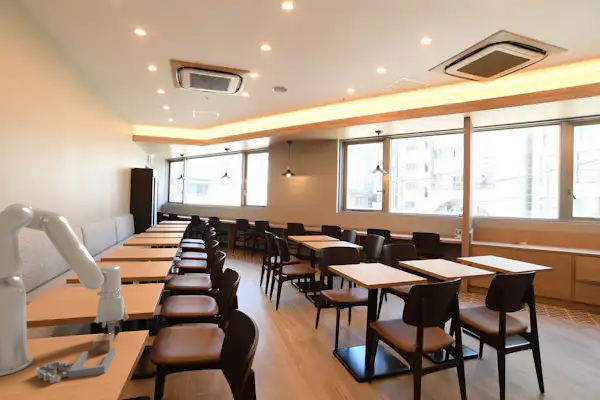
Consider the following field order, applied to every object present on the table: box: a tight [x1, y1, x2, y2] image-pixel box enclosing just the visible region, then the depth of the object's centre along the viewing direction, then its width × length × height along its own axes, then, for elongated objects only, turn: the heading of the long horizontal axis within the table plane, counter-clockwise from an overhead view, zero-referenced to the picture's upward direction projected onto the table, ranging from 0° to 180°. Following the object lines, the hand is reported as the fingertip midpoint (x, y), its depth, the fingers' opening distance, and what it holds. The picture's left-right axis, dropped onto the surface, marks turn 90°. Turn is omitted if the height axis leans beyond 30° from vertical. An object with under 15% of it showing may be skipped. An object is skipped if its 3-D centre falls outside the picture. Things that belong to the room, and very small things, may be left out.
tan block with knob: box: [92, 321, 117, 355], centre depth 133 cm, size 6×16×6 cm, turn 16°
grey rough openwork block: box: [35, 360, 74, 384], centre depth 111 cm, size 11×8×4 cm
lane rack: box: [68, 347, 116, 379], centre depth 118 cm, size 11×14×2 cm
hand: (111, 334), depth 139 cm, fingers open, 3 cm apart
